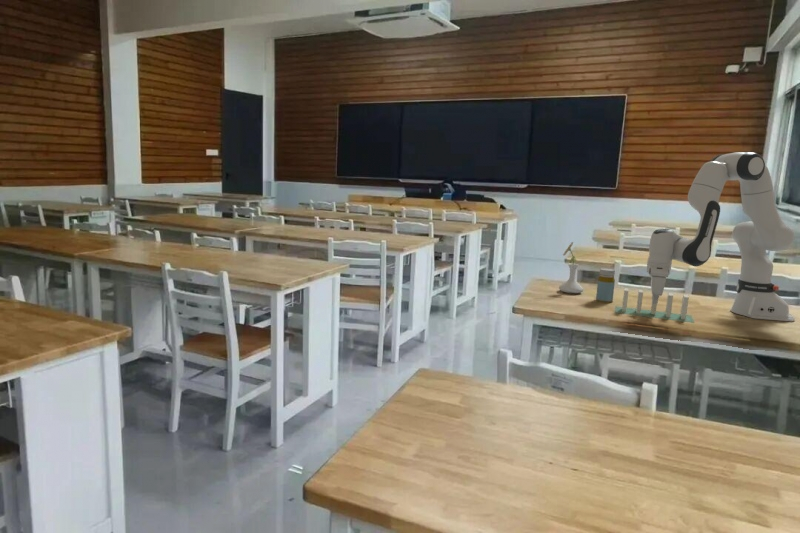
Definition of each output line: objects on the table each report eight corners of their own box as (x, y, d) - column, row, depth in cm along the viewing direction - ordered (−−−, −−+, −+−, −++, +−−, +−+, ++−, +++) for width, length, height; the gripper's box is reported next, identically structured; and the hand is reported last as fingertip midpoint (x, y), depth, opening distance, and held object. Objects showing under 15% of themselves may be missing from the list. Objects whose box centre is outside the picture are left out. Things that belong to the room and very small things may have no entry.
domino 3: (669, 314, 217) (672, 293, 216) (670, 317, 213) (673, 295, 211) (665, 314, 218) (668, 292, 216) (666, 317, 213) (668, 295, 212)
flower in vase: (565, 288, 263) (569, 238, 259) (587, 292, 256) (592, 241, 251) (552, 292, 254) (557, 240, 250) (574, 296, 246) (579, 243, 242)
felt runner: (691, 316, 217) (691, 315, 217) (694, 324, 206) (694, 322, 206) (615, 307, 229) (615, 306, 228) (614, 313, 218) (614, 312, 218)
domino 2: (651, 314, 215) (653, 292, 214) (650, 311, 220) (653, 290, 218) (655, 314, 215) (658, 293, 213) (655, 311, 219) (657, 290, 218)
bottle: (592, 300, 239) (595, 268, 237) (604, 299, 242) (607, 267, 240) (603, 304, 233) (607, 271, 231) (615, 303, 236) (619, 270, 233)
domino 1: (640, 311, 221) (642, 290, 220) (640, 313, 217) (643, 292, 215) (636, 310, 222) (638, 289, 220) (636, 313, 218) (638, 292, 216)
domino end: (626, 309, 224) (628, 288, 222) (626, 312, 219) (628, 290, 217) (622, 308, 224) (624, 288, 223) (621, 311, 220) (624, 290, 218)
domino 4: (684, 316, 215) (687, 295, 213) (685, 319, 211) (688, 297, 209) (680, 316, 216) (683, 294, 214) (681, 318, 211) (684, 297, 210)
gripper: (649, 264, 225) (645, 295, 227) (650, 272, 206) (646, 306, 209) (665, 265, 222) (661, 297, 225) (668, 273, 204) (664, 308, 206)
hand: (654, 302), depth 216 cm, fingers open, 5 cm apart
